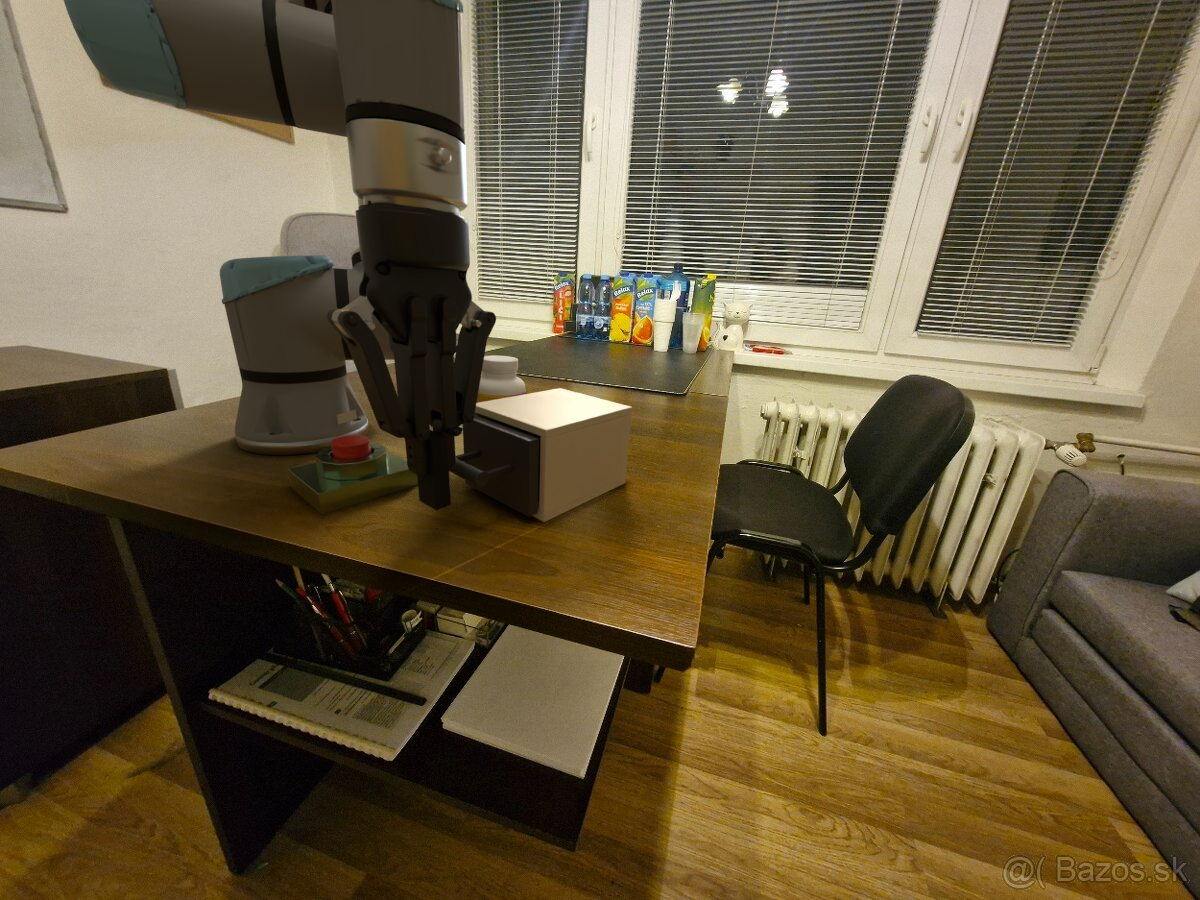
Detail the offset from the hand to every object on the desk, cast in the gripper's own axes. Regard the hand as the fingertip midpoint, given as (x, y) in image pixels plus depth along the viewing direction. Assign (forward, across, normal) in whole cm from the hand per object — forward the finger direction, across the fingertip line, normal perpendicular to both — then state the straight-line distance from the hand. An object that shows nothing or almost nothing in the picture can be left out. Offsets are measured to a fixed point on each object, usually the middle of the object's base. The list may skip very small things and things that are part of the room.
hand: (435, 502), depth 40 cm
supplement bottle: (+3, +17, +12) cm, 21 cm away
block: (+3, -1, +14) cm, 14 cm away
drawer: (+2, +11, 0) cm, 11 cm away
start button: (-1, -1, +14) cm, 14 cm away
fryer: (+3, +15, 0) cm, 15 cm away
